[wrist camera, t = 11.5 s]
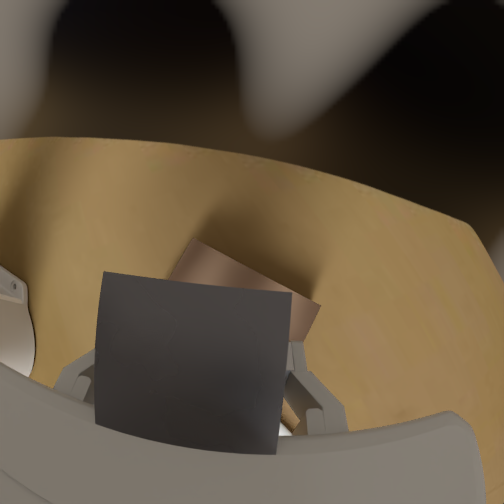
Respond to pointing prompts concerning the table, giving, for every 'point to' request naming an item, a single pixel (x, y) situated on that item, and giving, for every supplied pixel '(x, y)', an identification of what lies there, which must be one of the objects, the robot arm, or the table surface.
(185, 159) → the table surface
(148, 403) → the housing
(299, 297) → the stand
